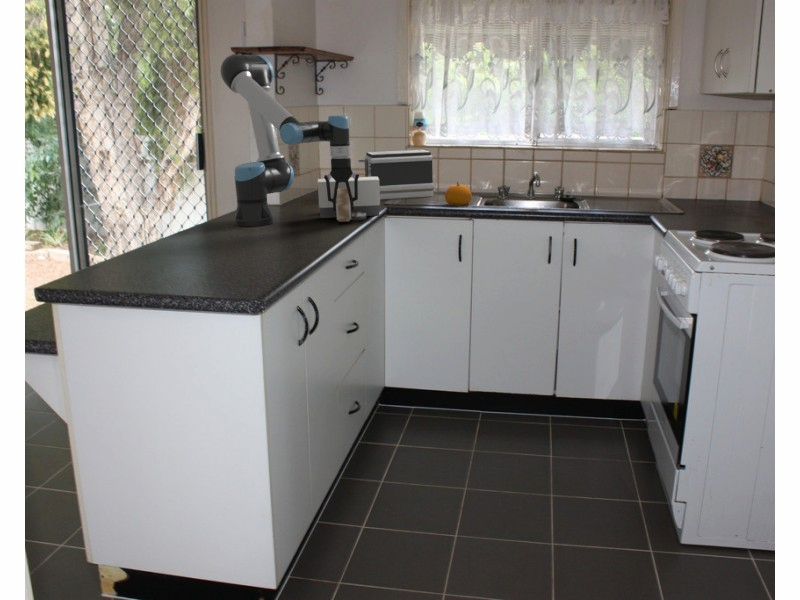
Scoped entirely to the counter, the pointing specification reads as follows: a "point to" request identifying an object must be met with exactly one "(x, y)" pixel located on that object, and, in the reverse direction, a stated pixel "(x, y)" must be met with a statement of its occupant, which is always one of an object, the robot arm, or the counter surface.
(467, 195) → the fruit
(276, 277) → the counter surface
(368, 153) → the toaster
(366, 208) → the two-tone white block
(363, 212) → the token
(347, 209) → the mottled tan block
